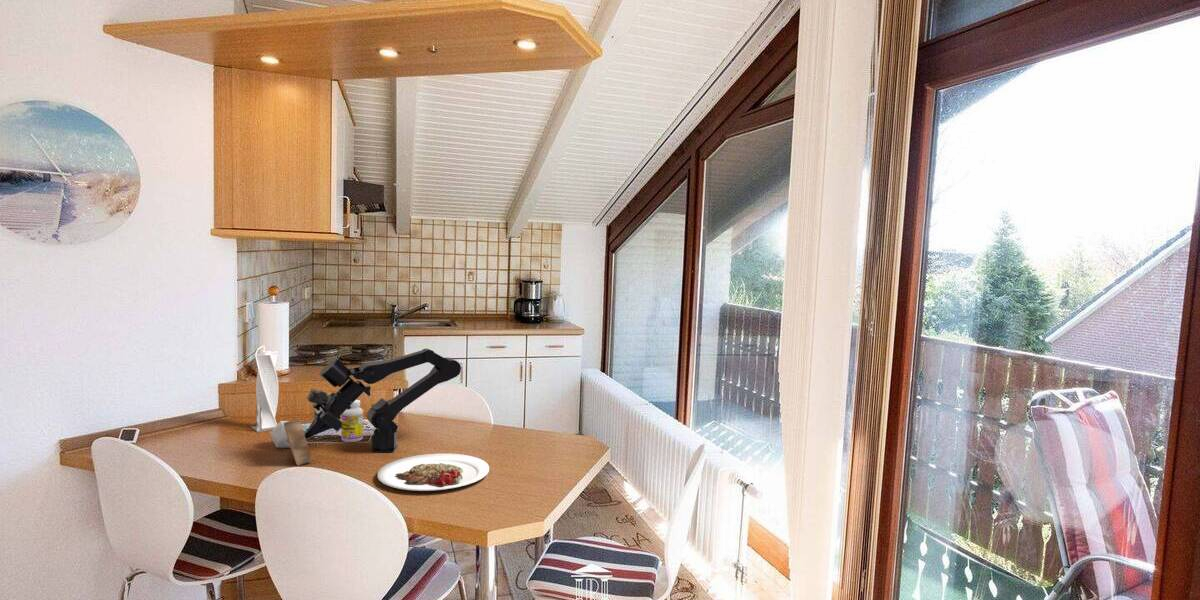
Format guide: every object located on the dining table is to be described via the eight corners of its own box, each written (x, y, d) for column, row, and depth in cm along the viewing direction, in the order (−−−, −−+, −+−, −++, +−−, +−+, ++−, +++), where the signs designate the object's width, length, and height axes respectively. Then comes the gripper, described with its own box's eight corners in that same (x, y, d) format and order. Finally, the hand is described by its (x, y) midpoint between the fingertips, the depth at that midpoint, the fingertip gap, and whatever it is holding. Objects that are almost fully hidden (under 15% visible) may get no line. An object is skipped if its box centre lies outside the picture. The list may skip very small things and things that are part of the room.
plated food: (422, 454, 199) (422, 443, 199) (508, 468, 189) (508, 456, 188) (352, 485, 171) (352, 473, 171) (448, 503, 161) (448, 490, 160)
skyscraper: (250, 426, 224) (249, 346, 222) (275, 423, 230) (274, 344, 228) (257, 432, 218) (256, 349, 216) (282, 428, 223) (282, 347, 222)
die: (281, 454, 197) (302, 427, 200) (259, 438, 198) (280, 412, 201) (292, 455, 205) (312, 430, 208) (271, 440, 206) (291, 415, 209)
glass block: (307, 452, 195) (297, 418, 192) (312, 461, 187) (301, 425, 185) (293, 457, 193) (283, 423, 190) (297, 466, 185) (286, 430, 183)
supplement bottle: (337, 441, 209) (336, 402, 209) (349, 436, 216) (349, 398, 215) (355, 443, 208) (355, 404, 207) (367, 438, 214) (367, 399, 213)
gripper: (320, 374, 199) (280, 413, 194) (330, 385, 183) (287, 428, 178) (346, 397, 204) (308, 436, 199) (359, 410, 188) (318, 452, 183)
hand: (305, 437), depth 190 cm, fingers closed
